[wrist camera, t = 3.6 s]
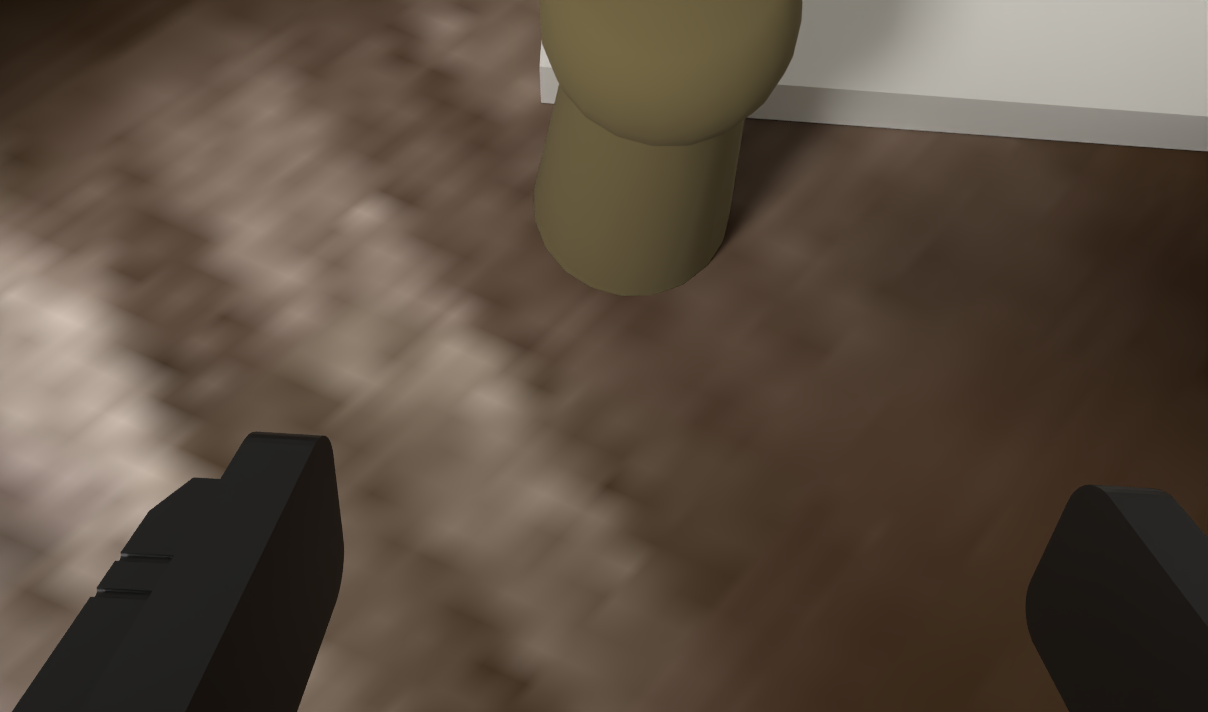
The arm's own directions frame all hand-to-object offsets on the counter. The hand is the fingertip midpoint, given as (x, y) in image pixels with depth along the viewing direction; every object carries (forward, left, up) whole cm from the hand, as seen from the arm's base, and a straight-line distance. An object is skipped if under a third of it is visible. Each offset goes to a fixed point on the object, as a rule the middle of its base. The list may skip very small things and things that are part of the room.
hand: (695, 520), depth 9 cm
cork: (0, +10, -15) cm, 18 cm away
